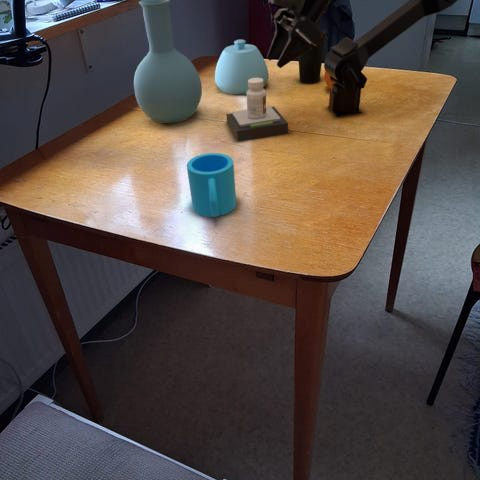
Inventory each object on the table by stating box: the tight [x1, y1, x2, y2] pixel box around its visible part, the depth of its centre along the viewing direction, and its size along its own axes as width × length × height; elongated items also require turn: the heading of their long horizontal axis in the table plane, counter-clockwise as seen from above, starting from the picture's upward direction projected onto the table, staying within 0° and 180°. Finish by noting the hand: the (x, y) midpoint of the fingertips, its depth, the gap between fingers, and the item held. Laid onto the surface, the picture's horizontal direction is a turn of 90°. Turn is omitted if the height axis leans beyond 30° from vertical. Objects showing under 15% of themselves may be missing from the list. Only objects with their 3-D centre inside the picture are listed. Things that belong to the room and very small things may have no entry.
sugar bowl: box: [214, 39, 270, 95], centre depth 132 cm, size 15×15×12 cm
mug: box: [186, 152, 237, 218], centre depth 85 cm, size 12×8×8 cm
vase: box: [133, 0, 203, 124], centre depth 114 cm, size 16×16×25 cm
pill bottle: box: [246, 78, 267, 119], centre depth 109 cm, size 4×4×8 cm
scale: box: [225, 105, 289, 142], centre depth 113 cm, size 12×11×3 cm
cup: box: [297, 28, 327, 85], centre depth 132 cm, size 8×8×12 cm
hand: (273, 62), depth 106 cm, fingers open, 9 cm apart
